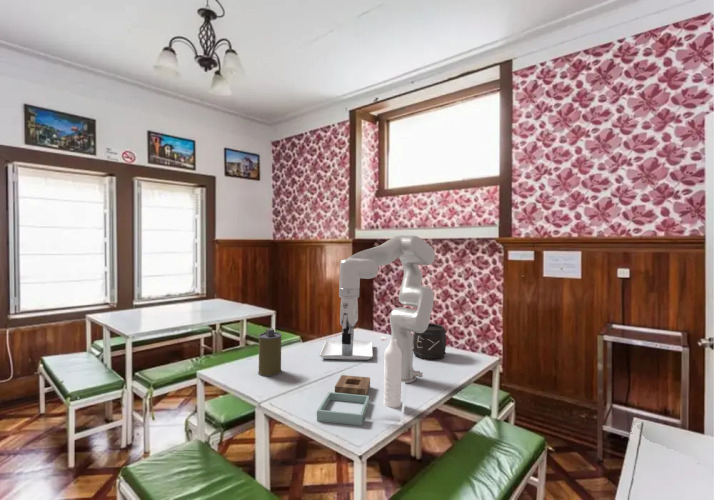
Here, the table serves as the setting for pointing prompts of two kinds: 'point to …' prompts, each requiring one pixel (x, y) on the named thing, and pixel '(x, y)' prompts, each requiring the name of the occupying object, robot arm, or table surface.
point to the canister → (269, 353)
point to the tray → (342, 416)
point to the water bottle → (392, 374)
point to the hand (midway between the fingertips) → (347, 341)
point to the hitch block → (353, 385)
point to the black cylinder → (430, 343)
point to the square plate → (334, 350)
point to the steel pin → (346, 348)
